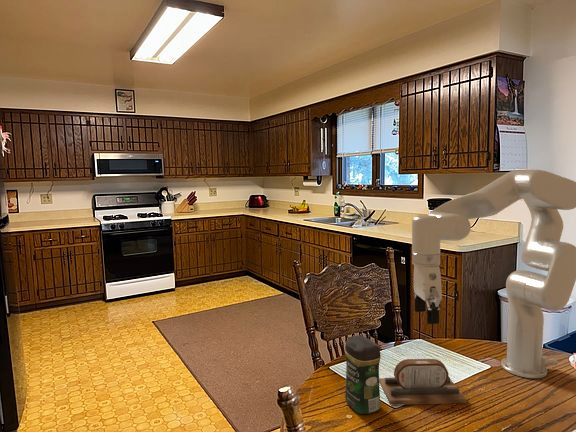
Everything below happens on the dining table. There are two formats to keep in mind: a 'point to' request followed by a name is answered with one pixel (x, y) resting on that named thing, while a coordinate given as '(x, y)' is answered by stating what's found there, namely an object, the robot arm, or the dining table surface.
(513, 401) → the dining table surface
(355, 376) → the coffee jar
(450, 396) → the holder
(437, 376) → the tin
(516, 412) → the dining table surface
